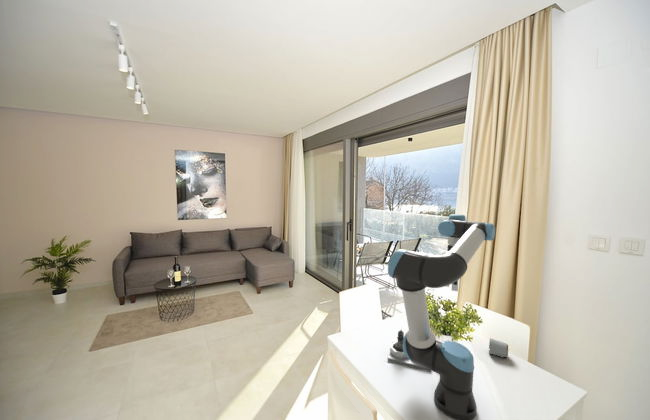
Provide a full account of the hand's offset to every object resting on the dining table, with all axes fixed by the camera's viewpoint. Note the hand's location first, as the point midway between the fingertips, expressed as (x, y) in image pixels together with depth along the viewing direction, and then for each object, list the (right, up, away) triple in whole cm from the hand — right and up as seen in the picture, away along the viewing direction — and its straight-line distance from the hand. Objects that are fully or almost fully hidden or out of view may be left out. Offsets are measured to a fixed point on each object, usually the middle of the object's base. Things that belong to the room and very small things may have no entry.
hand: (453, 286), depth 135 cm
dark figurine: (-27, -35, +2) cm, 44 cm away
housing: (-22, -36, 0) cm, 43 cm away
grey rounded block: (+25, -37, +5) cm, 45 cm away
